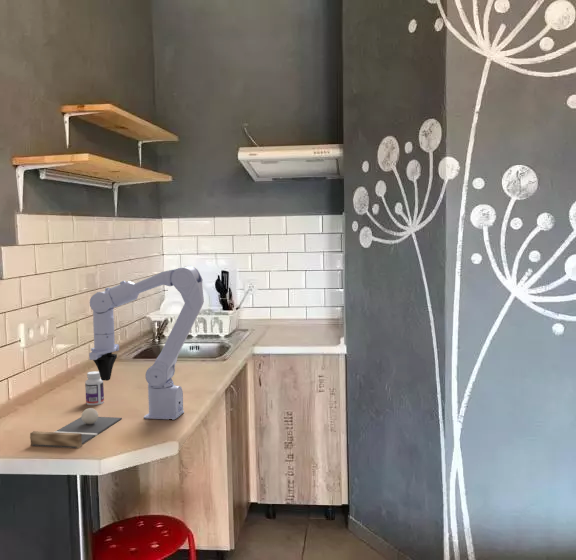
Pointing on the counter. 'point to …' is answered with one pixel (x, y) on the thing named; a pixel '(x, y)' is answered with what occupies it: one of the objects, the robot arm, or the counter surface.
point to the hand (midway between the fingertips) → (105, 379)
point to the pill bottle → (94, 389)
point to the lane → (86, 429)
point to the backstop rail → (56, 439)
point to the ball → (89, 416)
